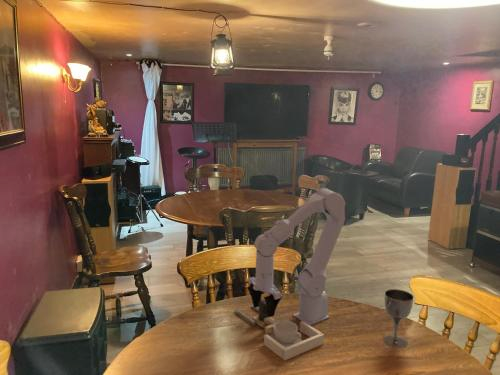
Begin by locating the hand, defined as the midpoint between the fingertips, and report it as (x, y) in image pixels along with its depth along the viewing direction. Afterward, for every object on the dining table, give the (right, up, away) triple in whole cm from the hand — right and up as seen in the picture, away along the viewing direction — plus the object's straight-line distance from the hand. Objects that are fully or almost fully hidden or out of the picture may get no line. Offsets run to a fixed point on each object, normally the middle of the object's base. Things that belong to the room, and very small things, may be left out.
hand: (263, 311), depth 131 cm
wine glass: (+40, -6, -9) cm, 41 cm away
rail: (-3, -3, +5) cm, 7 cm away
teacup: (+6, -6, -9) cm, 13 cm away
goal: (+9, -6, -11) cm, 15 cm away
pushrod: (+2, -4, -2) cm, 5 cm away
